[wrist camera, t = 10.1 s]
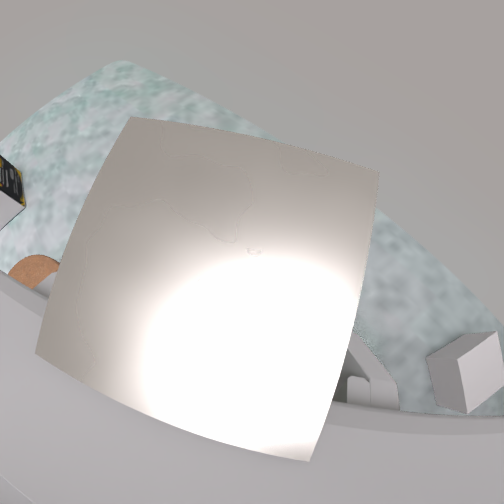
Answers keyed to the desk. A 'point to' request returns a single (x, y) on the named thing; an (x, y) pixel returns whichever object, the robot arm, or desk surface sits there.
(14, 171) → the medicine bottle
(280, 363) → the tea tin
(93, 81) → the desk surface
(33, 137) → the desk surface
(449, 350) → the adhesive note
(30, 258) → the lidded jar
